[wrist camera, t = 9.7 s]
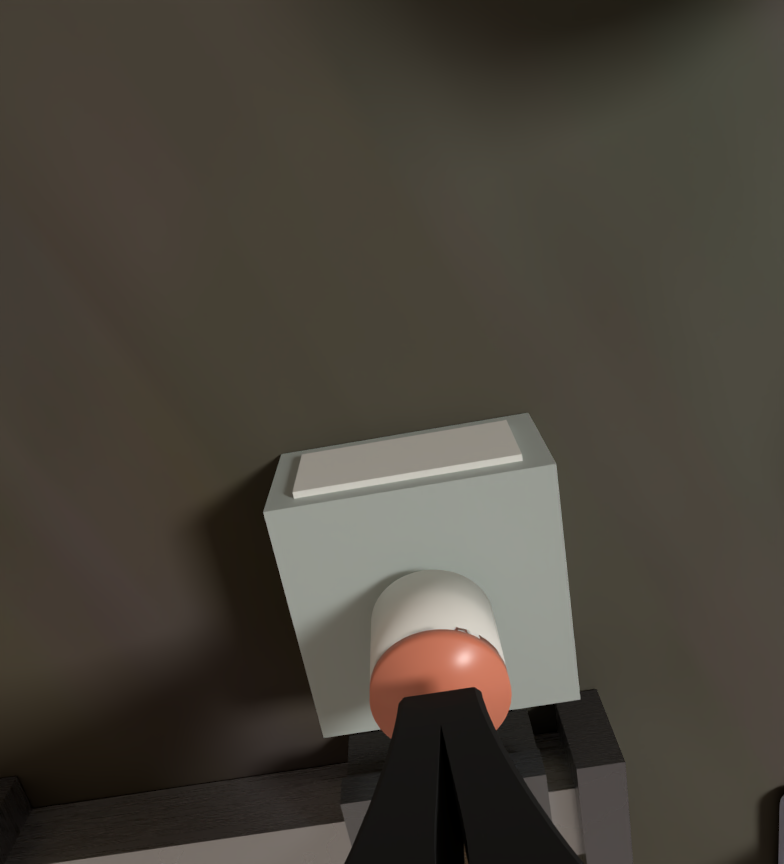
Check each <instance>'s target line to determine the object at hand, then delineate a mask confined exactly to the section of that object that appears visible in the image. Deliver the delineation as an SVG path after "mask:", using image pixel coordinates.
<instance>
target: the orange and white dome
mask: <svg viewBox="0 0 784 864" xmlns="http://www.w3.org/2000/svg"><path fill="white" fill-rule="evenodd" d="M470 687H475V688H477V689H478V690H480V691H481V692H482V696H483V700H484V703H485V705H486V708H487V711H488V713H489V716H490V718H491V720H492V723H493V725H494V727H495V729H496V730H497V729H498V728H499V727H500V725H501V724H502V723H503V721H504V719H505V718H506V716H507V714H508V711H509V708H510V705H511V697H512V692H511V685H510V680H509V676H508V672H507V668H506V664H505V660H504V656H503V651H502V647H501V643H500V639H499V635H498V631H497V626H496V622H495V618H494V614H493V610H492V606H491V603H490V601H489V599H488V597H487V596H486V594H485V593H484V591H483V590H482V589H481V588H480V587H479V586H478V585H477V584H476V583H474V582H473V581H471V580H470V579H468V578H466V577H465V576H463V575H460V574H457V573H455V572H451V571H446V570H422V571H418V572H414V573H411V574H408V575H405V576H403V577H401V578H399V579H398V580H396V581H394V582H393V583H392V584H390V585H389V586H388V587H387V588H386V589H385V590H384V591H383V592H382V593H381V595H380V596H379V598H378V599H377V601H376V603H375V605H374V608H373V611H372V616H371V644H370V699H369V702H370V709H371V712H372V715H373V718H374V720H375V722H376V723H377V725H378V726H379V728H380V729H381V730H382V731H383V732H384V733H385V734H386V735H387V736H388V737H389V738H390V739H391V738H392V734H393V730H394V726H395V721H396V716H397V710H398V704H399V702H400V701H401V700H402V699H403V698H404V697H409V696H416V695H423V694H430V693H436V692H443V691H450V690H456V689H463V688H470Z"/></svg>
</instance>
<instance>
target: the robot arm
mask: <svg viewBox="0 0 784 864" xmlns="http://www.w3.org/2000/svg"><path fill="white" fill-rule="evenodd" d="M464 846H465V851H466V856H467V860H468V864H584V863H583V862H582V860H581V859H580V858H579V857H578V855H577V854H576V853H575V852H574V850H573V849H572V848H571V847H570V845H569V844H568V843H567V841H566V840H565V839H564V837H563V836H562V835H561V833H560V832H559V831H558V829H557V828H556V827H555V825H554V824H553V822H552V821H551V820H550V818H549V817H548V815H547V814H546V812H545V811H544V810H543V808H542V807H541V805H540V804H539V802H538V801H537V799H536V798H535V796H534V795H533V793H532V792H531V790H530V789H529V787H528V786H527V784H526V782H525V781H524V779H523V777H522V776H521V774H520V772H519V771H518V769H517V767H516V766H515V764H514V762H513V761H512V759H511V757H510V756H509V754H508V752H507V750H506V748H505V747H504V745H503V743H502V741H501V739H500V737H499V735H498V733H497V731H496V729H495V727H494V725H493V723H492V720H491V718H490V716H489V713H488V711H487V708H486V705H485V703H484V700H483V696H482V692H481V691H480V690H478V689H477V688H475V687H470V688H463V689H456V690H450V691H443V692H436V693H430V694H423V695H416V696H409V697H404V698H403V699H402V700H401V701H400V702H399V704H398V710H397V716H396V721H395V726H394V730H393V734H392V738H391V741H390V745H389V748H388V752H387V755H386V758H385V762H384V765H383V768H382V771H381V774H380V776H379V779H378V782H377V785H376V788H375V791H374V794H373V797H372V799H371V802H370V805H369V807H368V810H367V812H366V814H365V817H364V819H363V822H362V824H361V826H360V829H359V831H358V834H357V836H356V838H355V841H354V843H353V846H352V848H351V850H350V852H349V854H348V857H347V859H346V861H345V863H344V864H465V860H464ZM778 864H784V795H783V796H782V798H781V800H780V810H779V856H778Z"/></svg>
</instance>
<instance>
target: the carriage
mask: <svg viewBox="0 0 784 864" xmlns="http://www.w3.org/2000/svg"><path fill="white" fill-rule="evenodd" d="M496 731H497V733H498V735H499V737H500V739H501V741H502V743H503V745H504V747H505V748H506V750H507V752H508V754H509V756H510V757H511V759H512V761H513V762H514V764H515V766H516V767H517V769H518V771H519V772H520V774H521V776H522V777H523V779H524V781H525V782H526V784H527V786H528V787H529V789H530V790H531V792H532V793H533V795H534V796H535V798H536V799H537V801H538V802H539V804H540V805H541V807H542V808H543V810H544V811H545V812H546V814H547V815H548V817H549V818H550V820H551V821H552V816H551V809H550V801H549V793H548V786H547V778H546V773H545V769H544V765H543V761H542V757H541V753H540V750H539V749H537V746H536V742H535V739H534V735H533V731H532V727H531V723H530V719H529V715H528V711H527V709H524V710H518V711H511V712H508V714H507V716H506V718H505V719H504V721H503V723H502V724H501V725H500V727H499V728H498V729H497V730H496ZM390 741H391V739H390V738H389V737H388V736H387V735H386V734H385V733H384V732H383V731H377V732H370V733H363V734H357V735H350V736H349V747H348V766H347V777H346V778H342V783H341V799H340V806H341V809H342V813H343V817H344V821H345V824H346V828H347V832H348V835H349V839H350V843H351V846H353V843H354V841H355V838H356V836H357V834H358V831H359V829H360V826H361V824H362V822H363V819H364V817H365V814H366V812H367V810H368V807H369V805H370V802H371V799H372V797H373V794H374V791H375V788H376V785H377V782H378V779H379V776H380V774H381V771H382V768H383V765H384V762H385V758H386V755H387V752H388V748H389V745H390ZM464 860H465V864H468V860H467V856H466V851H465V846H464Z"/></svg>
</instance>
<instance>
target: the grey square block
mask: <svg viewBox="0 0 784 864" xmlns="http://www.w3.org/2000/svg"><path fill="white" fill-rule="evenodd" d="M263 514H264V517H265V521H266V525H267V528H268V532H269V536H270V540H271V543H272V547H273V551H274V554H275V558H276V562H277V566H278V569H279V573H280V577H281V581H282V584H283V588H284V592H285V595H286V599H287V603H288V607H289V610H290V614H291V618H292V621H293V625H294V629H295V633H296V636H297V640H298V644H299V647H300V651H301V655H302V659H303V662H304V666H305V670H306V674H307V677H308V681H309V685H310V688H311V692H312V696H313V700H314V703H315V707H316V711H317V714H318V718H319V722H320V726H321V729H322V733H323V737H324V738H327V737H333V736H340V735H347V734H353V733H360V732H367V731H373V730H380V728H379V726H378V725H377V723H376V722H375V720H374V718H373V715H372V712H371V709H370V702H369V699H370V644H371V616H372V611H373V608H374V605H375V603H376V601H377V599H378V598H379V596H380V595H381V593H382V592H383V591H384V590H385V589H386V588H387V587H388V586H389V585H390V584H392V583H393V582H394V581H396V580H398V579H399V578H401V577H403V576H405V575H408V574H411V573H414V572H418V571H422V570H446V571H451V572H455V573H457V574H460V575H463V576H465V577H466V578H468V579H470V580H471V581H473V582H474V583H476V584H477V585H478V586H479V587H480V588H481V589H482V590H483V591H484V593H485V594H486V596H487V597H488V599H489V601H490V603H491V606H492V610H493V614H494V618H495V622H496V626H497V631H498V635H499V639H500V643H501V647H502V651H503V656H504V660H505V664H506V668H507V672H508V676H509V680H510V685H511V692H512V697H511V705H510V708H509V710H514V709H521V708H528V707H534V706H541V705H548V704H554V703H561V702H568V701H574V700H580V690H579V680H578V671H577V661H576V651H575V642H574V632H573V622H572V613H571V603H570V593H569V584H568V574H567V564H566V555H565V545H564V535H563V526H562V516H561V506H560V496H559V487H558V477H557V467H556V463H555V461H554V459H553V457H552V455H551V453H550V452H549V450H548V448H547V446H546V444H545V443H544V441H543V439H542V437H541V435H540V433H539V432H538V430H537V428H536V426H535V424H534V422H533V421H532V419H531V417H530V415H529V413H523V414H518V415H512V416H506V417H500V418H494V419H488V420H482V421H476V422H470V423H464V424H458V425H452V426H446V427H441V428H435V429H429V430H423V431H417V432H411V433H405V434H399V435H393V436H387V437H381V438H375V439H369V440H364V441H358V442H352V443H346V444H340V445H334V446H328V447H322V448H316V449H310V450H304V451H298V452H293V453H287V454H281V457H280V460H279V463H278V467H277V470H276V473H275V476H274V479H273V482H272V486H271V489H270V492H269V495H268V498H267V501H266V505H265V508H264V511H263Z"/></svg>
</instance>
